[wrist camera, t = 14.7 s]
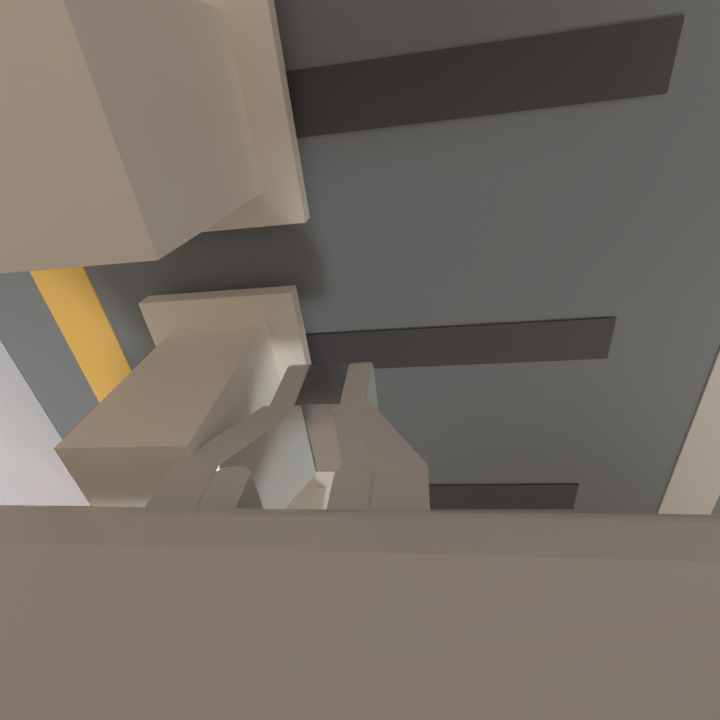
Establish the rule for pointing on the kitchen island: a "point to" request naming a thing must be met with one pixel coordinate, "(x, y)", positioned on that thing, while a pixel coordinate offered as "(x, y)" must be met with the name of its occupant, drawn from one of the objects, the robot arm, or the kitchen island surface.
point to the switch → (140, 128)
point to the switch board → (473, 248)
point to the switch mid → (185, 388)
